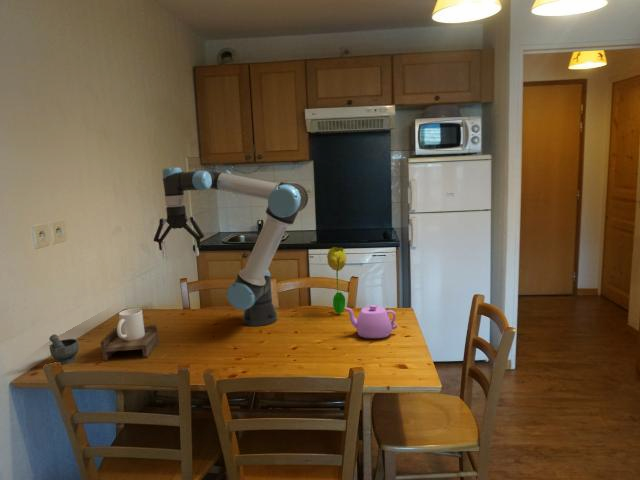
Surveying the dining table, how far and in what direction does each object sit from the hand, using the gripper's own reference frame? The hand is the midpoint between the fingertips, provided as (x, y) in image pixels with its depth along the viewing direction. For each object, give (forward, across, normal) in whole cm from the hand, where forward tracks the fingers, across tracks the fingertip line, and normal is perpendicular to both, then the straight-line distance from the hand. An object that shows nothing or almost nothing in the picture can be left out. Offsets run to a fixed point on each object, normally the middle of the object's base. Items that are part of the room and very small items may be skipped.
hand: (181, 256), depth 200 cm
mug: (+27, +17, +21) cm, 38 cm away
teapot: (+32, -75, +22) cm, 84 cm away
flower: (+32, -65, -5) cm, 73 cm away
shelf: (+32, +17, +21) cm, 42 cm away
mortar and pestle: (+32, +40, +26) cm, 57 cm away
